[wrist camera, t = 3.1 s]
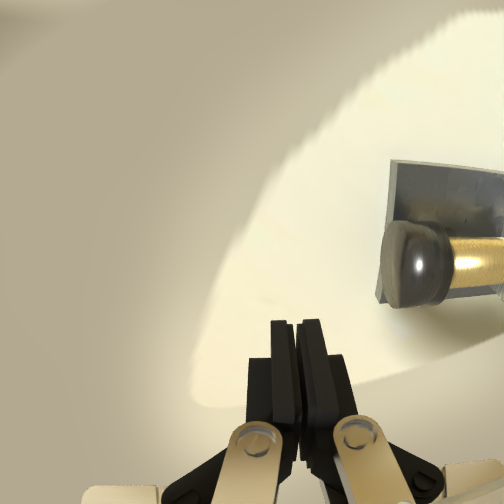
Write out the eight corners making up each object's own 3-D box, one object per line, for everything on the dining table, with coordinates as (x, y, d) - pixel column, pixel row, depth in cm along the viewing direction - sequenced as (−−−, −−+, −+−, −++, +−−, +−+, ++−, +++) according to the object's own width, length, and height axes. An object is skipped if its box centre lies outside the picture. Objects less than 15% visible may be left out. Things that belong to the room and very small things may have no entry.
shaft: (544, 216, 17) (582, 241, 12) (530, 271, 19) (562, 301, 14) (385, 208, 18) (418, 241, 13) (376, 280, 20) (400, 326, 15)
